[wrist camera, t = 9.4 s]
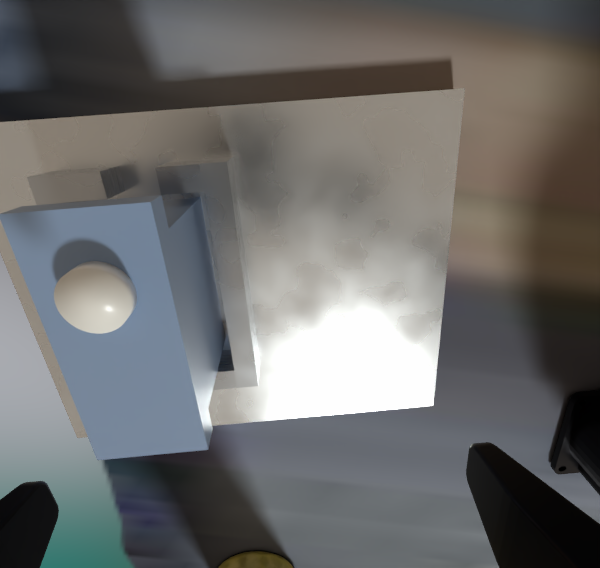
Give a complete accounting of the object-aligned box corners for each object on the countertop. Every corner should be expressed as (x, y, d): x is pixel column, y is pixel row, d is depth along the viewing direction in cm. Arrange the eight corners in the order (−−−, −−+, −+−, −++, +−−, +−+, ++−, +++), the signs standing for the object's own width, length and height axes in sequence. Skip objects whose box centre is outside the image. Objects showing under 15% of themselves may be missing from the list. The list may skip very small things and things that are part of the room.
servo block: (228, 354, 19) (205, 463, 13) (150, 361, 19) (90, 474, 13) (196, 172, 15) (143, 207, 9) (98, 180, 15) (-19, 220, 9)
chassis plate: (426, 393, 22) (446, 429, 19) (85, 424, 22) (60, 465, 19) (454, 90, 16) (488, 84, 13) (-33, 125, 15) (-96, 126, 13)
